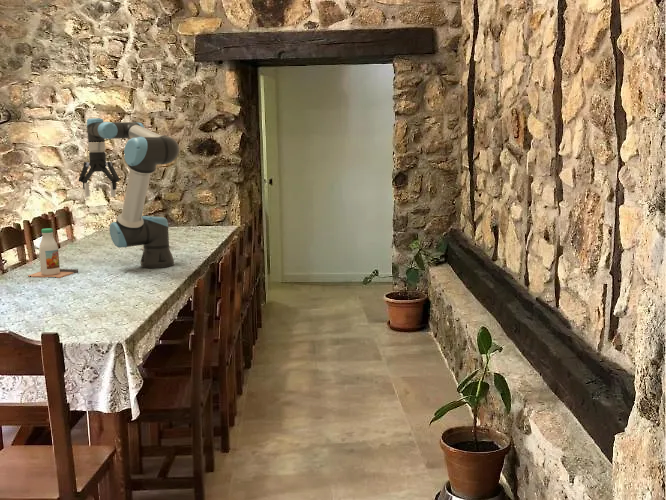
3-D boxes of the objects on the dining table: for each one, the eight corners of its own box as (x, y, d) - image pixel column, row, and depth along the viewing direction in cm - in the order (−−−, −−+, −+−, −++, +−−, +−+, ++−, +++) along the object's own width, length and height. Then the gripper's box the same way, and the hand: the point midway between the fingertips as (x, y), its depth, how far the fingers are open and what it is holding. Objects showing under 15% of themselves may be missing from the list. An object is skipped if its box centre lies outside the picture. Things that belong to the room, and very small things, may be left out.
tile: (73, 273, 303) (73, 272, 303) (60, 277, 294) (60, 276, 294) (41, 272, 307) (41, 271, 307) (27, 276, 297) (27, 275, 297)
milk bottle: (40, 276, 296) (36, 230, 292) (42, 272, 303) (38, 228, 300) (59, 274, 298) (55, 229, 294) (61, 271, 305) (57, 227, 302)
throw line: (78, 272, 305) (78, 269, 305) (76, 273, 304) (76, 269, 304) (42, 271, 309) (42, 268, 309) (40, 272, 308) (40, 268, 308)
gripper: (125, 151, 323) (128, 196, 327) (77, 151, 328) (81, 195, 332) (117, 151, 316) (120, 197, 319) (68, 152, 321) (72, 197, 324)
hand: (100, 196), depth 326 cm, fingers open, 13 cm apart
